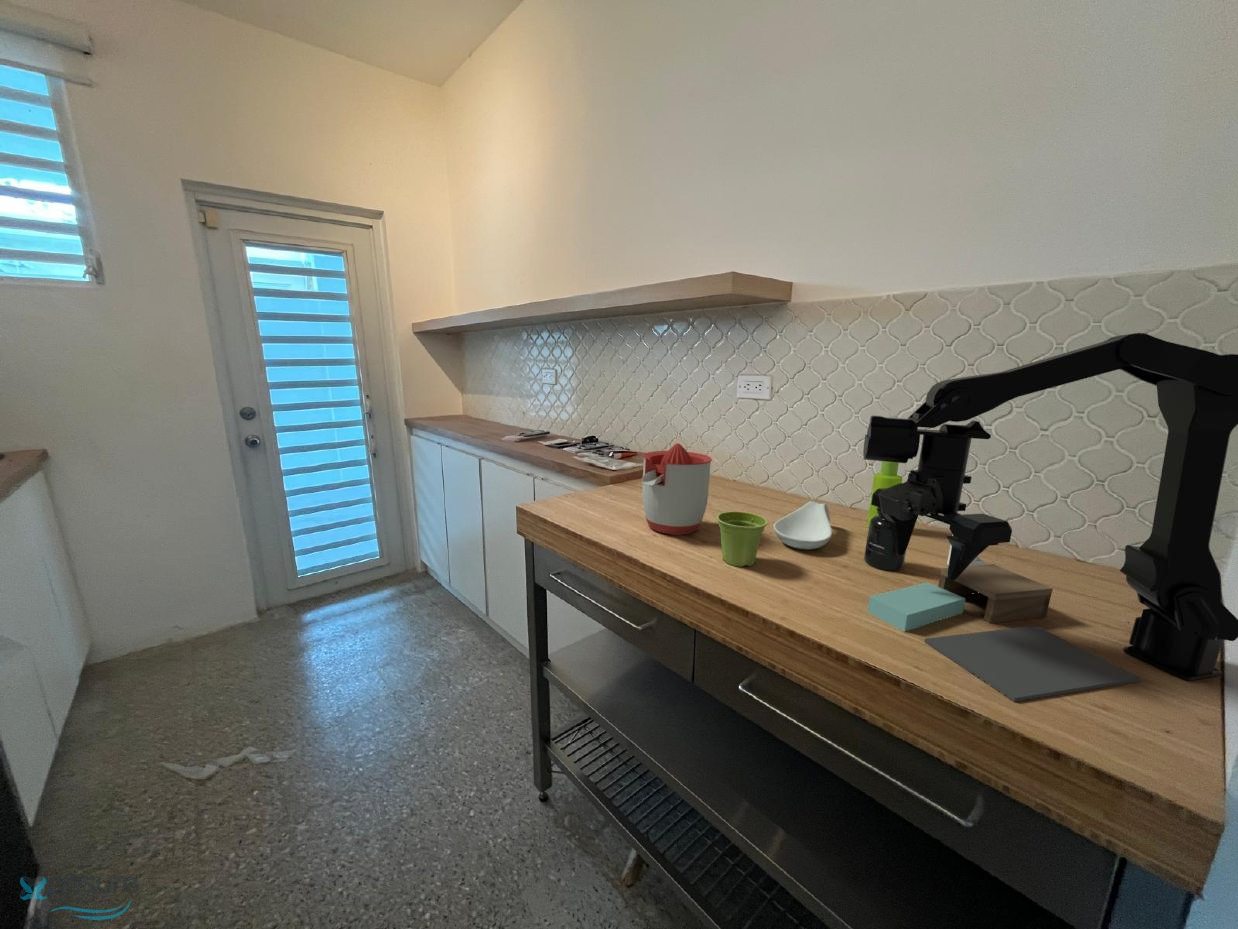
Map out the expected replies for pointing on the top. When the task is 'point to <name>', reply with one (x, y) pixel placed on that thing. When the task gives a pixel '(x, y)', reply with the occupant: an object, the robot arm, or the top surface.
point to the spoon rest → (805, 527)
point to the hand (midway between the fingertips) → (924, 566)
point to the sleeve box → (1001, 592)
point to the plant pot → (740, 536)
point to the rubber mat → (1030, 662)
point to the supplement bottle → (882, 546)
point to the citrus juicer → (675, 489)
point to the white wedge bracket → (975, 562)
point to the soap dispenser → (884, 483)
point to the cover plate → (915, 606)
